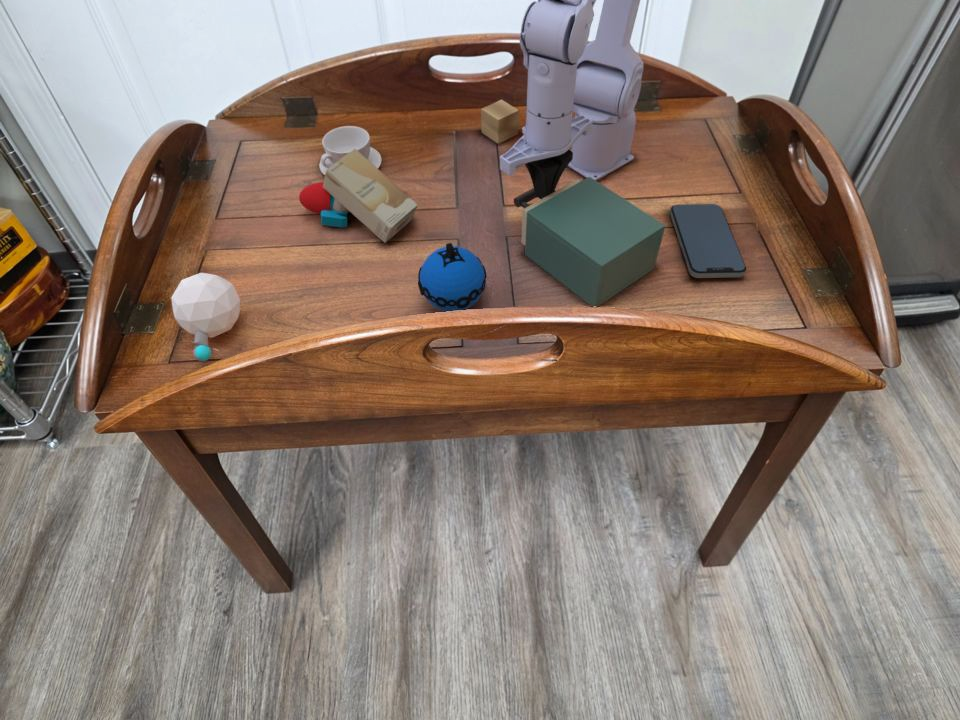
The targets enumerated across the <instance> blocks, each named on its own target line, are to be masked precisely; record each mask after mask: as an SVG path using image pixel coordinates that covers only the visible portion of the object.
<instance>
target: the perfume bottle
mask: <svg viewBox="0 0 960 720" xmlns="http://www.w3.org/2000/svg"><path fill="white" fill-rule="evenodd" d="M170 299H171V306H172V307H171V308H172V312H173V313H172V314H173V318H174V320H175V321H176V322H177V324H178V325H179V327H180V328H182V329H183V330H184V331H186V332H187V333H188V334H191V335H194V340H193V341H192V340H188V343H190V344H193V345H194V349H193V350H192V355H193V357H194V358H195V359H196V360H197V361H199V362H207V361H208V360H209V359H210V358H211V356H212V352H214V351H218V352H220V350H219V349H217V348H212V347H210V346H209V338H211V339H212V338H215V337H217V336H219V335H221V334H224V333H226V332H228V331H231V330H232V328H233V327H234V325H235V324H236V322H237V321H238V319H239V317H240V314H241V299H240V297H239V295H238V292H237V289H236V288H235V287H234V284H233V283H232V282H230V281H229V280H227V279H225V278H224V277H222V276H219V275H217V274H212V273H208V272H207V273H206V272H199V273H197V274H196V273H195V274H193V275H191V276H187V277H185V278H184V279H181V280H180V282H179V283H178V285H177V286H176V289H175V290H174V292H173V293H172V296H171V298H170Z"/></svg>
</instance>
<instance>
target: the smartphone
mask: <svg viewBox="0 0 960 720" xmlns="http://www.w3.org/2000/svg"><path fill="white" fill-rule="evenodd" d="M669 216H670V218H671V221H672V225H673V228H674V231H675V234H676V236H677V240H678V243H679V246H680V249H681V252H682V255H683V259H684V261H685V264H686V267H687V270H688V273H689V275H690V276H691V277H693V278H695V279H713V278H714V279H716V278H719V279H721V278H722V279H723V278H725V279H726V278H741V277H744V276H745V274H746V271H747V266H746V264H745V261H744V259H743V256H742V254H741V252H740V249H739V246H738V245H737V242H736V240H735V237H734V235H733V233H732V229H731V228H730V225H729V222H728V220H727V217H726V216H725V213H724V210H723V209H722V207H721V206H720V205H719V204H716V203H695V204H694V203H692V204H689V203H688V204H674V205H671V207H670V210H669Z"/></svg>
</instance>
